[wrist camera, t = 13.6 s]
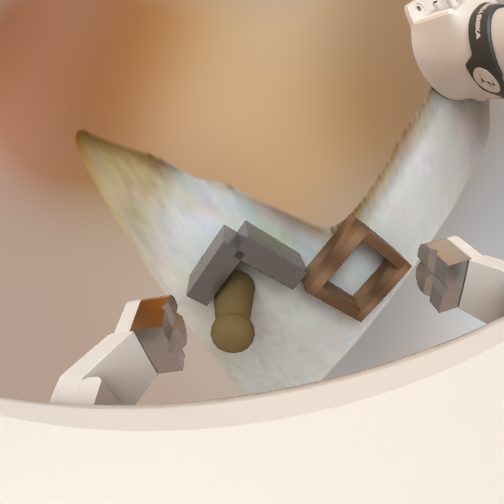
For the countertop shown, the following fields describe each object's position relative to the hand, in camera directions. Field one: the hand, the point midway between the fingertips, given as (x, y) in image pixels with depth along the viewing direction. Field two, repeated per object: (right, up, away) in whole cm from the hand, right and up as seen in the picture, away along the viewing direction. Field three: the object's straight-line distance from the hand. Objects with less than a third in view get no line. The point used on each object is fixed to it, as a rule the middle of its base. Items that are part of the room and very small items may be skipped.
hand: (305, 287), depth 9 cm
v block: (-3, +1, +32) cm, 32 cm away
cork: (-4, -4, +35) cm, 35 cm away
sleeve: (+13, -1, +34) cm, 37 cm away
